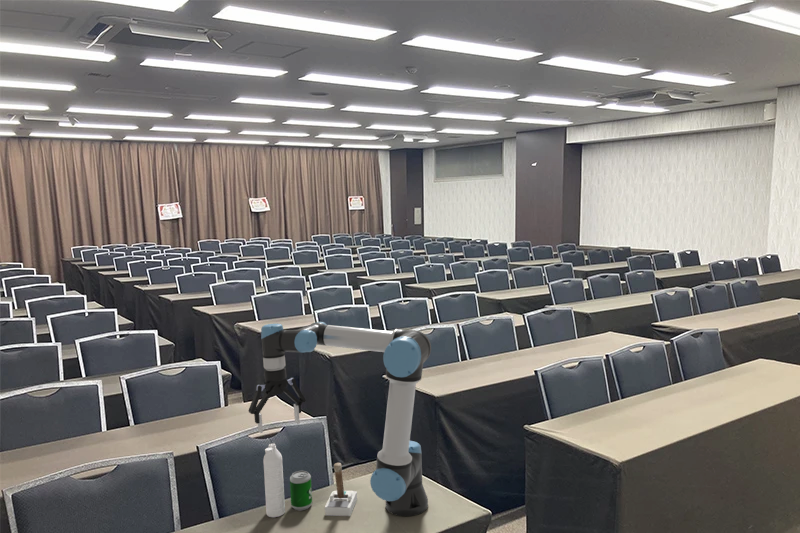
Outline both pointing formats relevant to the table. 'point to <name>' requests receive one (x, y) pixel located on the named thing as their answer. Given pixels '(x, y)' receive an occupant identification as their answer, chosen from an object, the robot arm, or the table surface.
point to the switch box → (341, 504)
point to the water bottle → (274, 482)
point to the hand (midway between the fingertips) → (279, 427)
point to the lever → (339, 481)
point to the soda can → (301, 490)
